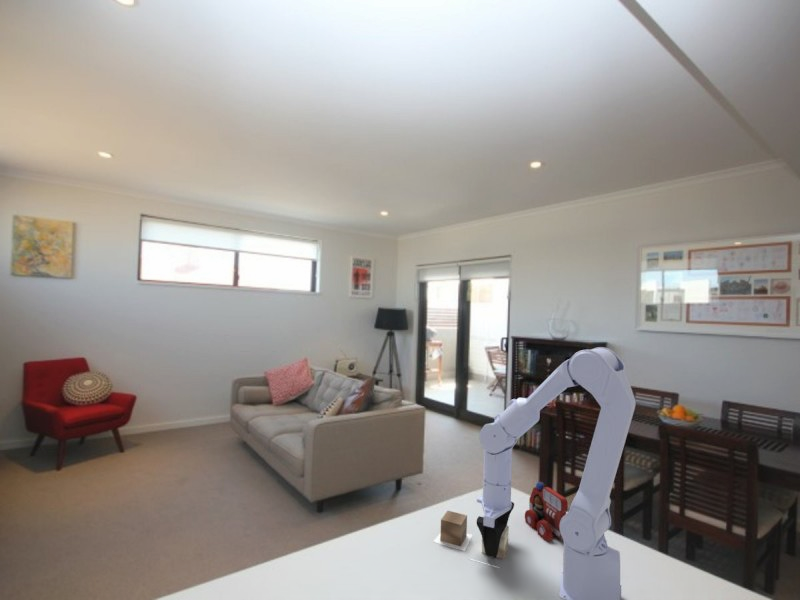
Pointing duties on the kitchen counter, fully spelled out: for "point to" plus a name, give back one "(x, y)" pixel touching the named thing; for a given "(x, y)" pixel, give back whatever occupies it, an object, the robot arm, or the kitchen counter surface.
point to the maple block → (501, 544)
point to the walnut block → (453, 528)
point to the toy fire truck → (546, 511)
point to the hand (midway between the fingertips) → (495, 545)
